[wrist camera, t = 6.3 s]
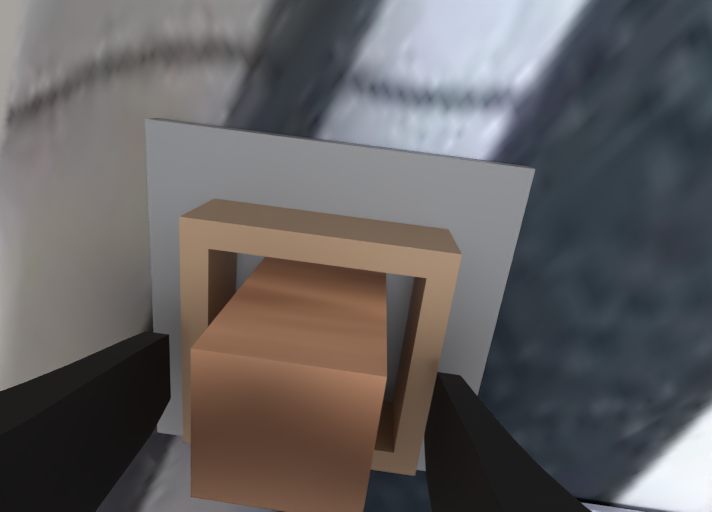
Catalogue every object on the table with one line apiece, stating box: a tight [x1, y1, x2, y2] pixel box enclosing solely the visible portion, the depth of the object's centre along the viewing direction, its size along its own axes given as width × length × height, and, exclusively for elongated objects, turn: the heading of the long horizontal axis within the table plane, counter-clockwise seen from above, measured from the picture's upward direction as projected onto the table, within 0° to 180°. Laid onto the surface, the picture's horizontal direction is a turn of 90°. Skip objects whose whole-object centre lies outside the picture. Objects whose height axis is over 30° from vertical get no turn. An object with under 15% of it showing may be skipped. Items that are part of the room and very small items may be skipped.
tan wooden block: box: [191, 257, 387, 512], centre depth 12 cm, size 4×4×6 cm
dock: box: [145, 118, 535, 476], centre depth 14 cm, size 12×12×3 cm
